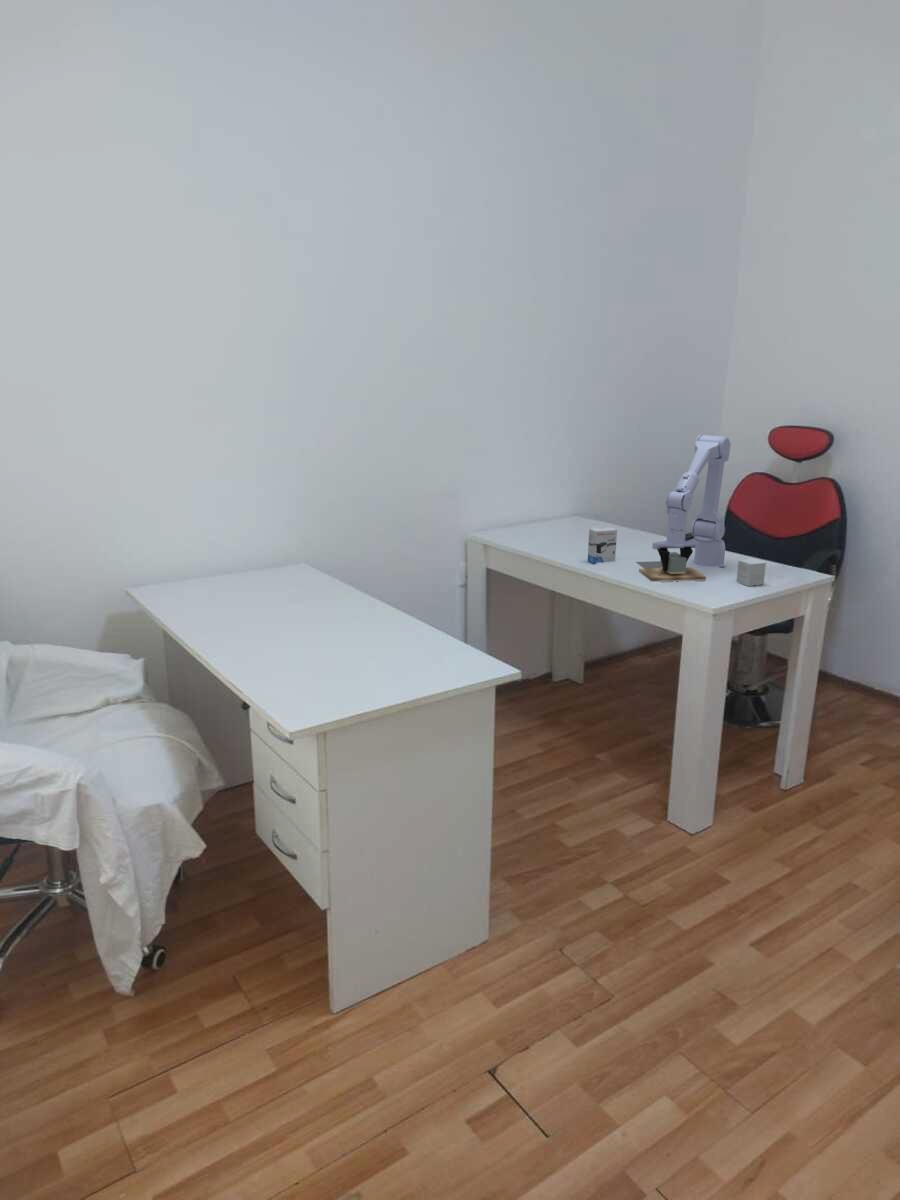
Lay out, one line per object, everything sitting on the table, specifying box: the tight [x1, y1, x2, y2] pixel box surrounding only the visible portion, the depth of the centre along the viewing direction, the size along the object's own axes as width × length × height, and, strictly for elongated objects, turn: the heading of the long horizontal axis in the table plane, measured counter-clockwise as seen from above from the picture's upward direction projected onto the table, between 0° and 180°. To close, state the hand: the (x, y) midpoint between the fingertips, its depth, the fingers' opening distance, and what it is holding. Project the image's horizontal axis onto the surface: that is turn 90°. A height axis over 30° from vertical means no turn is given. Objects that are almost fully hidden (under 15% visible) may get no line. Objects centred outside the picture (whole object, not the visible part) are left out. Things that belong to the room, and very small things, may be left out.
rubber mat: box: [635, 560, 660, 569], centre depth 298 cm, size 12×11×1 cm
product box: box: [736, 557, 767, 587], centre depth 278 cm, size 6×6×7 cm
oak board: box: [638, 566, 707, 583], centre depth 285 cm, size 18×12×2 cm, turn 97°
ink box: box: [587, 526, 618, 565], centre depth 303 cm, size 8×5×12 cm, turn 105°
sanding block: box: [659, 551, 687, 574], centre depth 285 cm, size 5×9×5 cm, turn 9°
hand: (673, 570), depth 285 cm, fingers closed on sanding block, 5 cm apart
